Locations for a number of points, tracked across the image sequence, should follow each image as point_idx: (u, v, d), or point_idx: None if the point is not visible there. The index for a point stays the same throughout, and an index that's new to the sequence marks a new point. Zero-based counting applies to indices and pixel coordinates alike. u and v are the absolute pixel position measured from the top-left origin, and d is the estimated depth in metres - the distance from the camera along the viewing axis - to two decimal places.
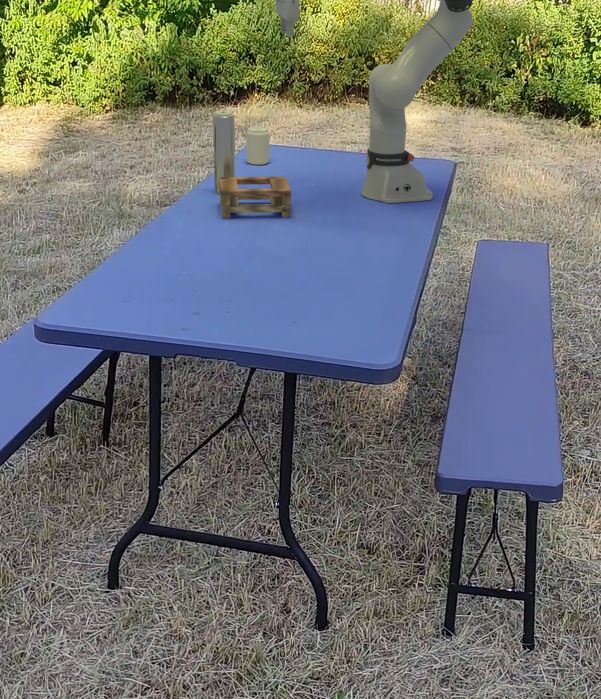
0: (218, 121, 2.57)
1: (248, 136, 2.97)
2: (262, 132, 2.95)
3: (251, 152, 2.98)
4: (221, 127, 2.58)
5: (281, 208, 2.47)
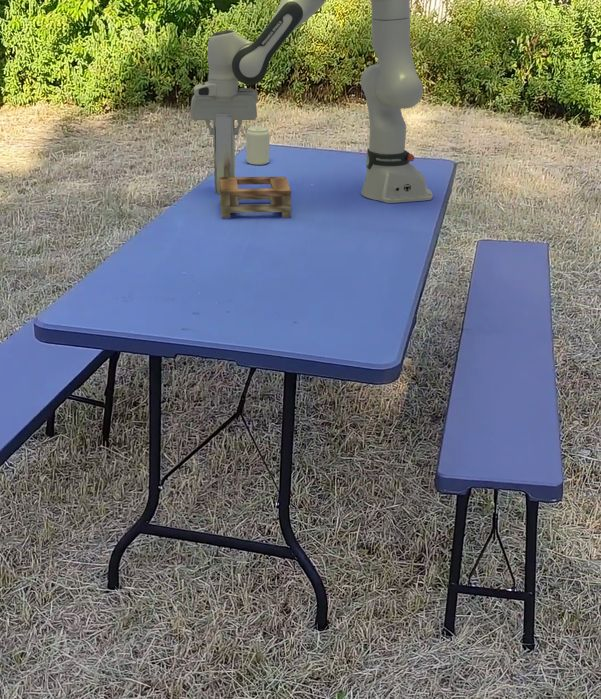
0: (218, 121, 2.57)
1: (248, 136, 2.97)
2: (262, 132, 2.95)
3: (251, 152, 2.98)
4: (221, 127, 2.58)
5: (281, 208, 2.47)
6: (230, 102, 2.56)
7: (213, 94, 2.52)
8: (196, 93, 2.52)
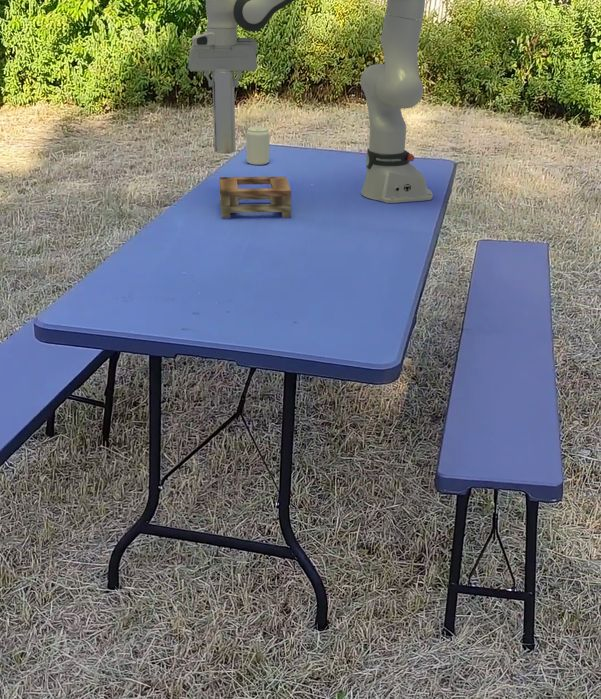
0: (217, 76, 2.51)
1: (248, 136, 2.97)
2: (262, 132, 2.95)
3: (251, 152, 2.98)
4: (220, 82, 2.52)
5: (281, 208, 2.47)
6: (229, 52, 2.50)
7: (212, 43, 2.46)
8: (194, 42, 2.46)
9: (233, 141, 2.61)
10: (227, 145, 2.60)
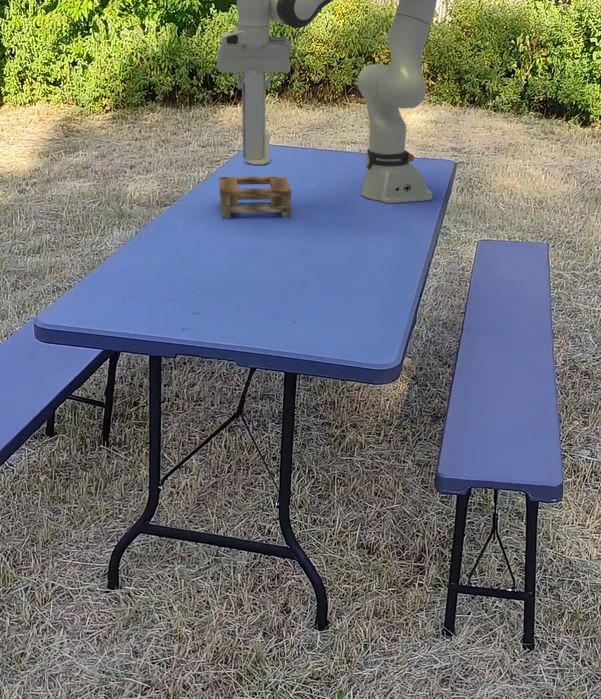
0: (247, 78, 2.35)
1: None
2: None
3: None
4: (251, 84, 2.35)
5: (281, 208, 2.47)
6: (260, 52, 2.33)
7: (243, 43, 2.29)
8: (224, 41, 2.29)
9: (263, 147, 2.45)
10: (256, 152, 2.44)
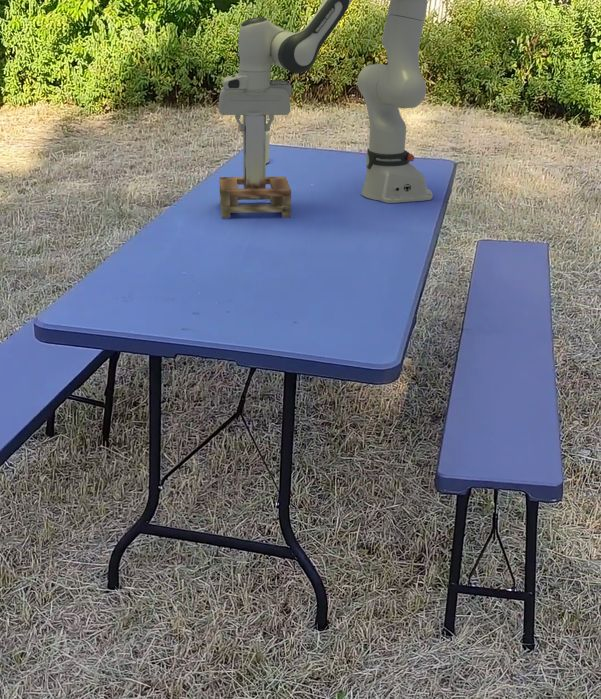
0: (248, 121, 2.39)
1: None
2: None
3: None
4: (252, 127, 2.40)
5: (281, 208, 2.47)
6: (261, 96, 2.38)
7: (244, 87, 2.34)
8: (226, 86, 2.34)
9: (264, 186, 2.49)
10: None
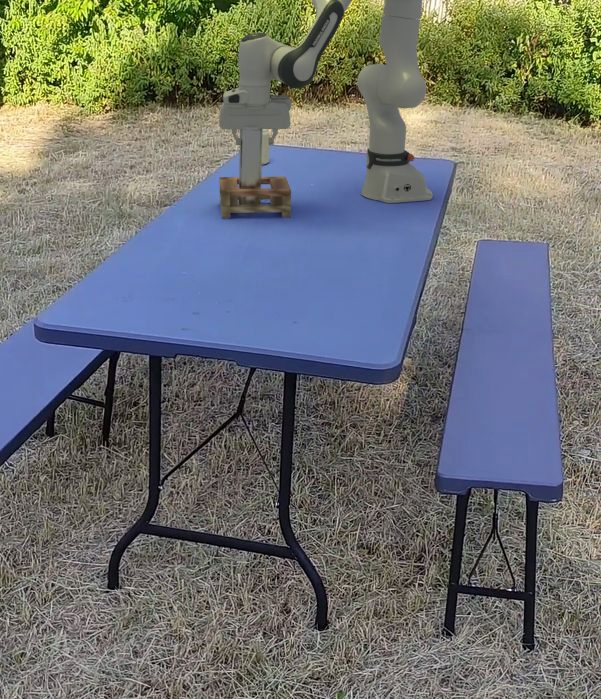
0: (245, 135, 2.41)
1: None
2: None
3: None
4: (248, 141, 2.42)
5: (281, 208, 2.47)
6: (261, 110, 2.40)
7: (244, 102, 2.36)
8: (226, 101, 2.36)
9: (259, 200, 2.51)
10: None
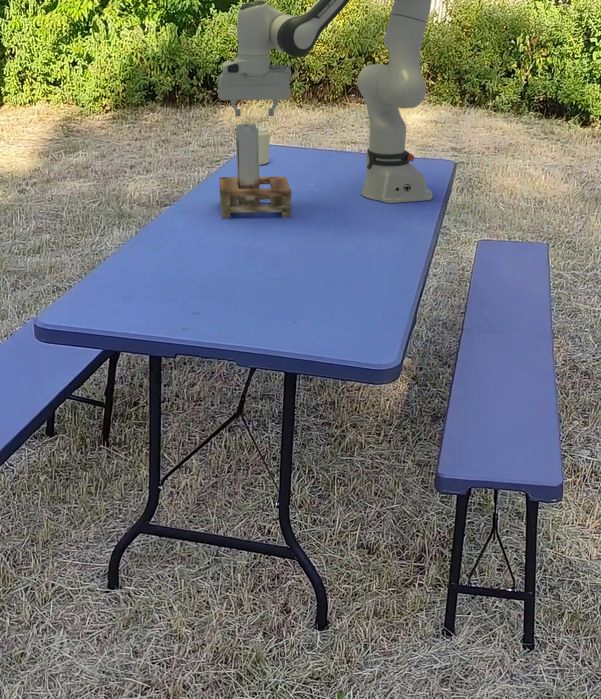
0: (241, 135, 2.41)
1: None
2: (262, 132, 2.95)
3: None
4: (244, 141, 2.42)
5: (281, 208, 2.47)
6: (261, 80, 2.36)
7: (243, 71, 2.32)
8: (225, 70, 2.32)
9: (258, 200, 2.51)
10: None
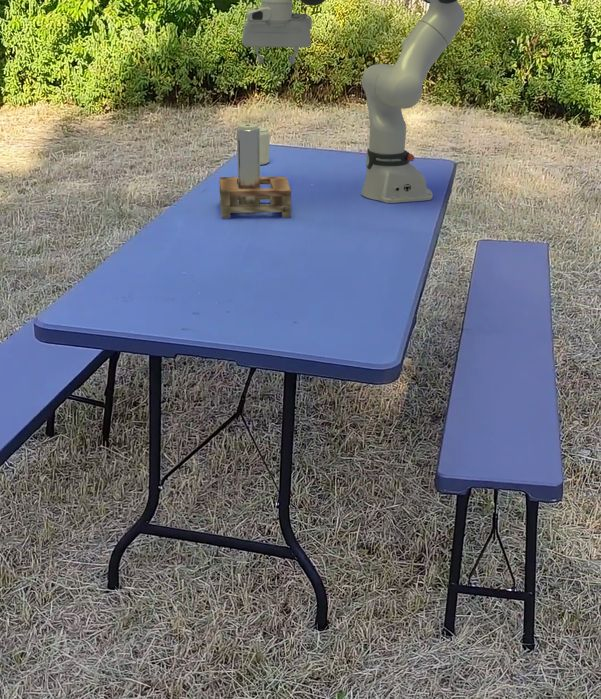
0: (242, 135, 2.41)
1: None
2: (262, 132, 2.95)
3: None
4: (246, 141, 2.42)
5: (281, 208, 2.47)
6: (283, 28, 2.49)
7: (267, 18, 2.46)
8: (250, 17, 2.45)
9: (258, 200, 2.51)
10: None
